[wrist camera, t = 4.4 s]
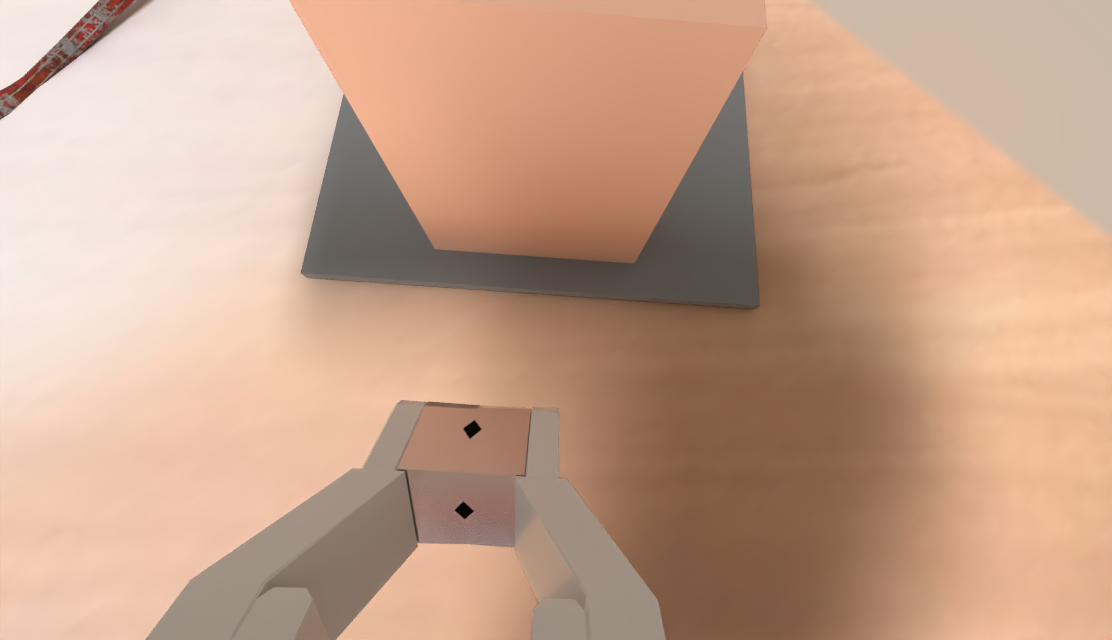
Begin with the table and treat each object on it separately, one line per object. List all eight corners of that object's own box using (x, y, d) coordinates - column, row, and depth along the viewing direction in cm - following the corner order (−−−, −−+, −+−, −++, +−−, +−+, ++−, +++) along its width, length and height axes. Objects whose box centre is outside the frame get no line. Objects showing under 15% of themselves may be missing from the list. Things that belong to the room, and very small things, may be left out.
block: (635, 210, 17) (757, -75, 7) (634, 263, 16) (766, 27, 7) (443, 196, 17) (314, -114, 7) (434, 249, 16) (281, -13, 7)
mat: (732, 8, 21) (737, -2, 20) (753, 308, 17) (759, 305, 16) (377, -21, 20) (374, -32, 20) (307, 277, 16) (300, 273, 16)
